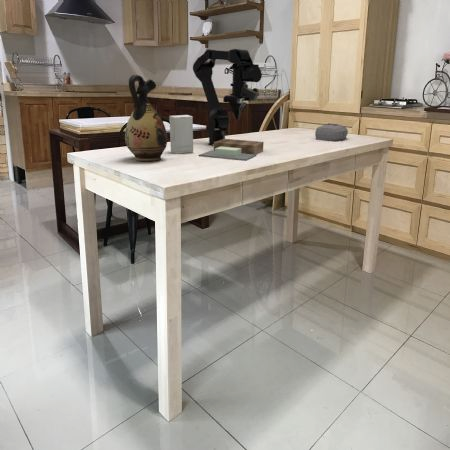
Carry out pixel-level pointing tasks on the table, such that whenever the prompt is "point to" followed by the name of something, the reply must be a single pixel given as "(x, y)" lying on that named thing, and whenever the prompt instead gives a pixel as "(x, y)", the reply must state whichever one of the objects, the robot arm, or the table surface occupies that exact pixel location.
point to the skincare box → (181, 134)
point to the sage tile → (228, 151)
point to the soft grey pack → (331, 132)
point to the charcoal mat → (240, 157)
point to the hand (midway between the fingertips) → (237, 119)
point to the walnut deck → (241, 145)
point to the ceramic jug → (144, 124)
